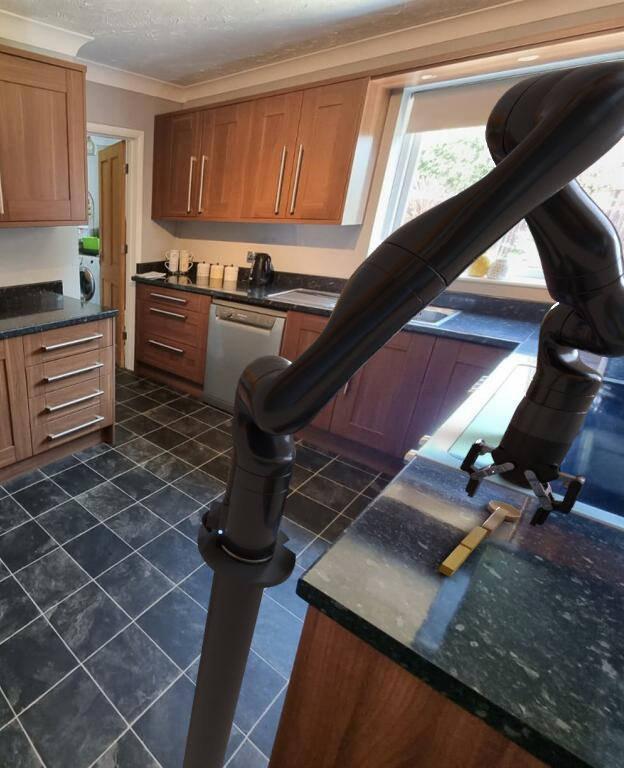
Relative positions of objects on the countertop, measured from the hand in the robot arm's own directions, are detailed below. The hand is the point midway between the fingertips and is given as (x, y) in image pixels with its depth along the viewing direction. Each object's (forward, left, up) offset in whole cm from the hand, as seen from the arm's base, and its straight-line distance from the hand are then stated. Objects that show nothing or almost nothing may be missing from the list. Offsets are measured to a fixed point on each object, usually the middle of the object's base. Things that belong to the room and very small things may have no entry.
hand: (501, 509), depth 73 cm
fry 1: (-9, -14, -3) cm, 17 cm away
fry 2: (-5, -8, -3) cm, 10 cm away
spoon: (0, +1, -3) cm, 3 cm away
